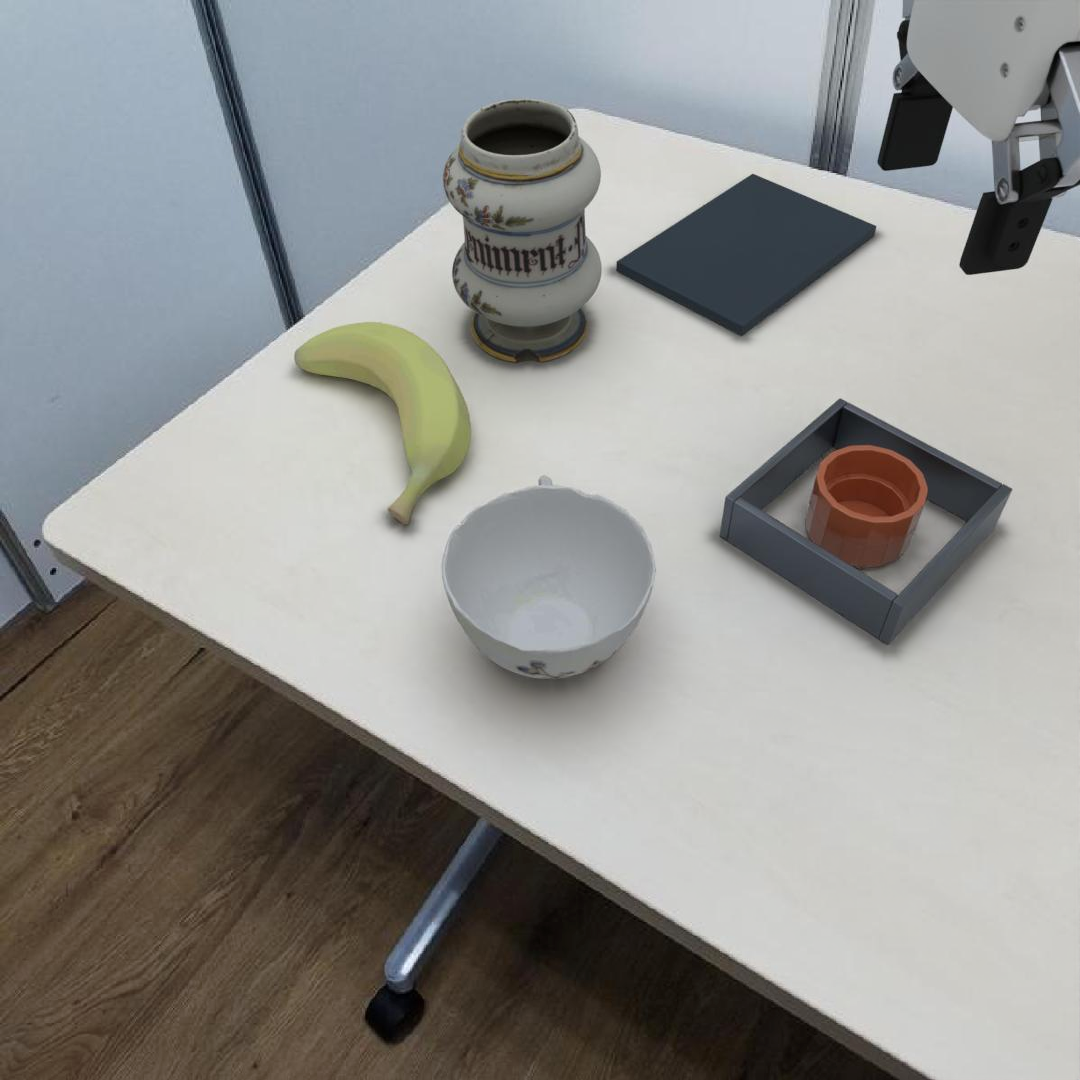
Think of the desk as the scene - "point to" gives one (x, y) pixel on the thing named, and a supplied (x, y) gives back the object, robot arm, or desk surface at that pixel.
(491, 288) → the apothecary jar
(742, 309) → the mat
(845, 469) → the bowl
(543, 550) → the teacup
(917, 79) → the robot arm
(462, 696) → the desk surface
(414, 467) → the banana
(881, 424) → the square frame
